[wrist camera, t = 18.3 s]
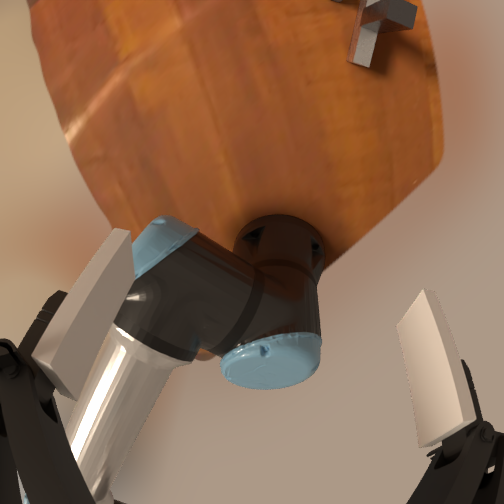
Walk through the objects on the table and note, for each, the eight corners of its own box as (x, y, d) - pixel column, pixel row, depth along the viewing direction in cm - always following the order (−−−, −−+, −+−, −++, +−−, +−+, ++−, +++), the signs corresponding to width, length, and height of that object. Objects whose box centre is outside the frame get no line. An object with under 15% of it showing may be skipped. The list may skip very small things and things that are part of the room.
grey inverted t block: (362, 66, 31) (401, 75, 20) (344, 60, 31) (374, 65, 20) (380, -10, 23) (424, -33, 12) (361, -17, 23) (398, -45, 12)
